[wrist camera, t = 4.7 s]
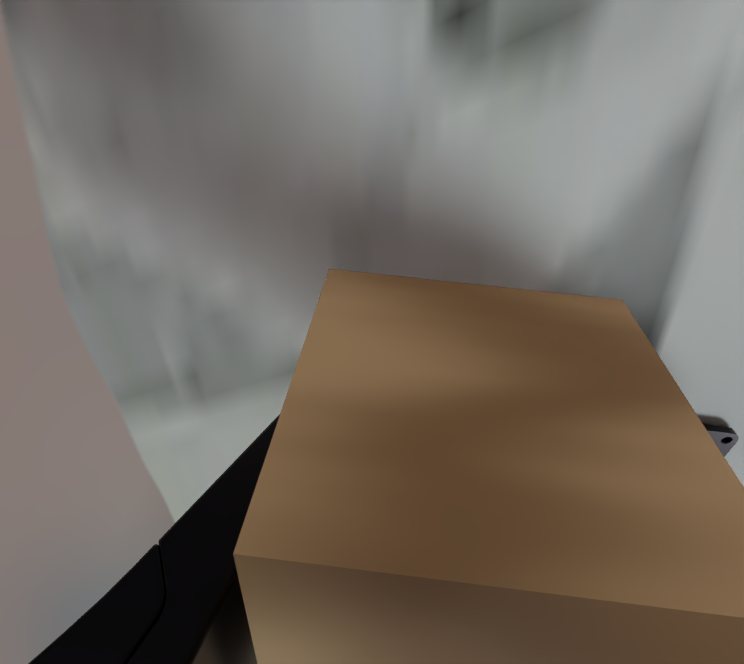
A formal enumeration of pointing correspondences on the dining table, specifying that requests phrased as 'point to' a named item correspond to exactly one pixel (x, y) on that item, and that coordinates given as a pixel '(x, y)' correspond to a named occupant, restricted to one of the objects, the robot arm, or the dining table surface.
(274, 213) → the dining table surface
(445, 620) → the oak cube
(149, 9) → the dining table surface
